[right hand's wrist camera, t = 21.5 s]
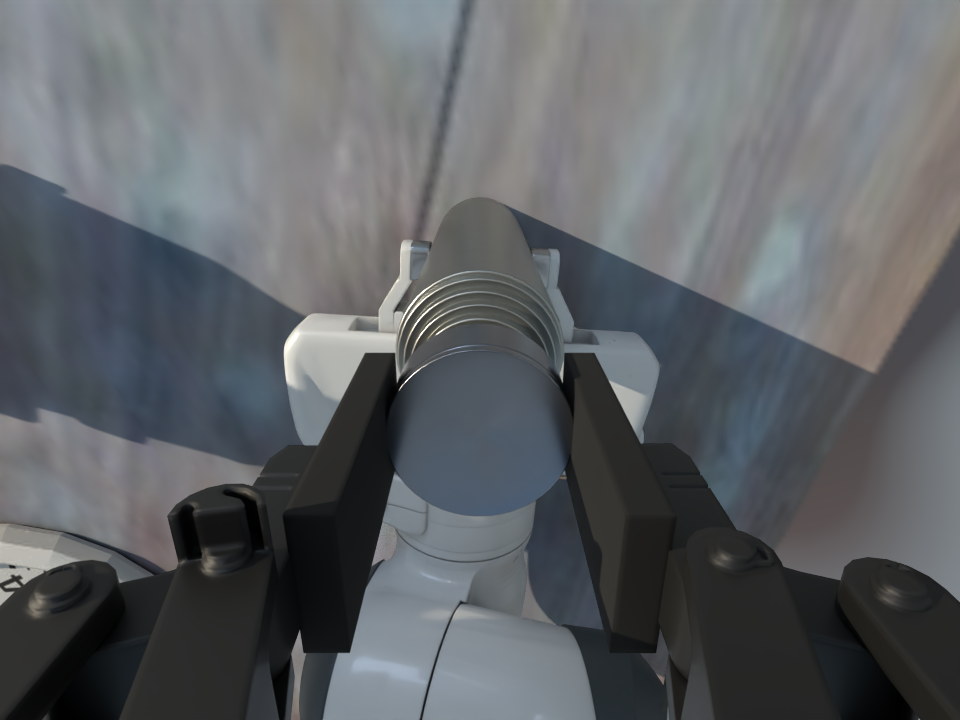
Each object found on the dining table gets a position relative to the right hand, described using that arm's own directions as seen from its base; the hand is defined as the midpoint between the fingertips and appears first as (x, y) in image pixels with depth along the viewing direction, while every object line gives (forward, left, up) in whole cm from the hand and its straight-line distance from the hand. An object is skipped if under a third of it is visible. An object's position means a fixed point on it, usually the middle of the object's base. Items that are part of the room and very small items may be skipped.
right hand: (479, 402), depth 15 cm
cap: (0, 0, +2) cm, 2 cm away
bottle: (0, 0, -23) cm, 23 cm away
